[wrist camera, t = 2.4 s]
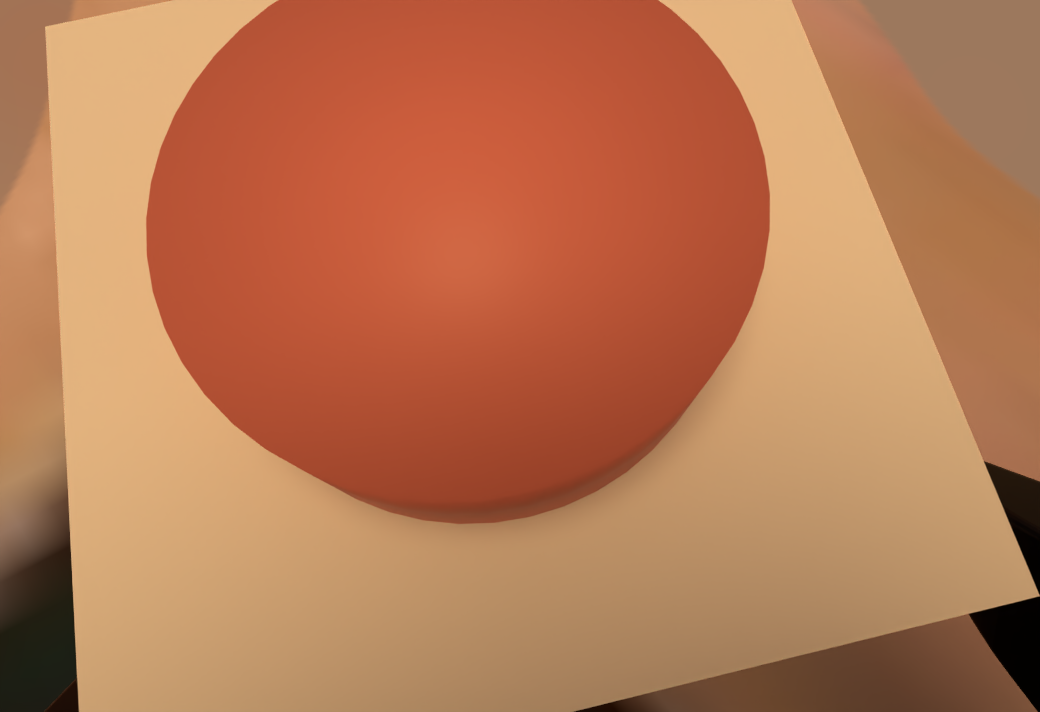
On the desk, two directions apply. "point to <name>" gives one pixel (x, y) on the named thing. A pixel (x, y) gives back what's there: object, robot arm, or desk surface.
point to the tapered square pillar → (486, 359)
